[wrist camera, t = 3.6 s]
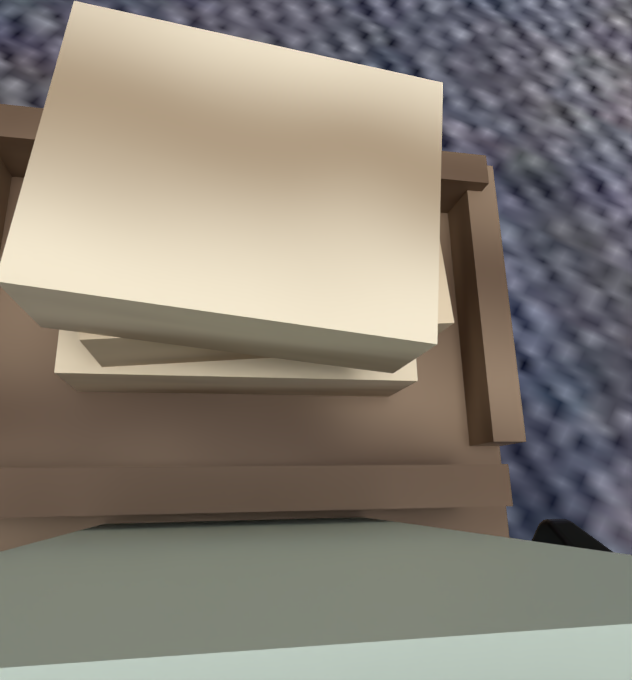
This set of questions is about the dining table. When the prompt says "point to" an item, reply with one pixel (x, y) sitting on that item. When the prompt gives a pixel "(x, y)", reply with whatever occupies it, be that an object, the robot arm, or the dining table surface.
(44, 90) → the dining table surface
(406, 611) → the sage panel
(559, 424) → the dining table surface
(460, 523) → the tray
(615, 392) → the dining table surface
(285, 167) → the offcut stack
